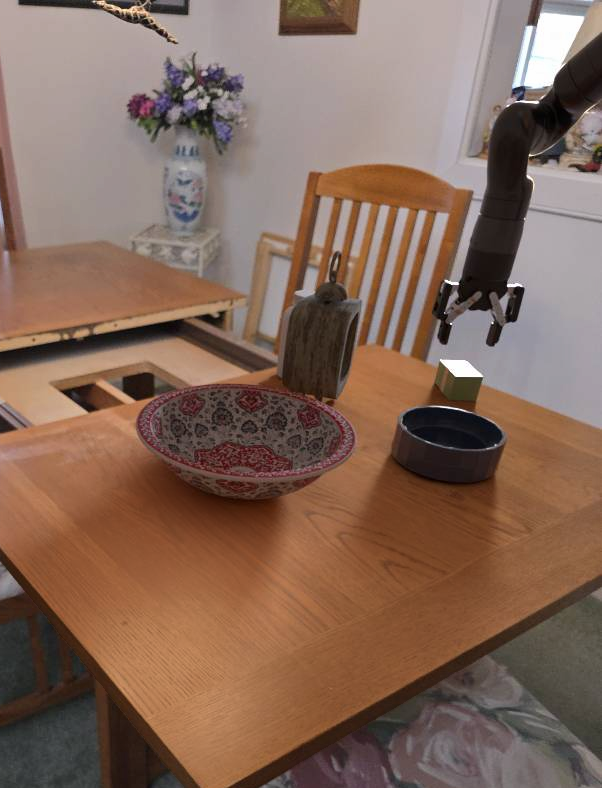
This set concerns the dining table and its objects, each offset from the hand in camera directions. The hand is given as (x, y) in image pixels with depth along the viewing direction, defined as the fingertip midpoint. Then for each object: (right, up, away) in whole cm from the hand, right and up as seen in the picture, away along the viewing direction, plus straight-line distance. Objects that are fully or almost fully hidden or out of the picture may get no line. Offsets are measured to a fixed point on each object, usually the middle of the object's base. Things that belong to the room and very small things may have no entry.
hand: (466, 344), depth 123 cm
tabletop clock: (-28, -12, -4) cm, 30 cm away
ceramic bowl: (-41, -26, -25) cm, 55 cm away
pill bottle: (-28, -4, +8) cm, 30 cm away
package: (0, -7, +5) cm, 9 cm away
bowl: (-10, -22, -18) cm, 31 cm away
